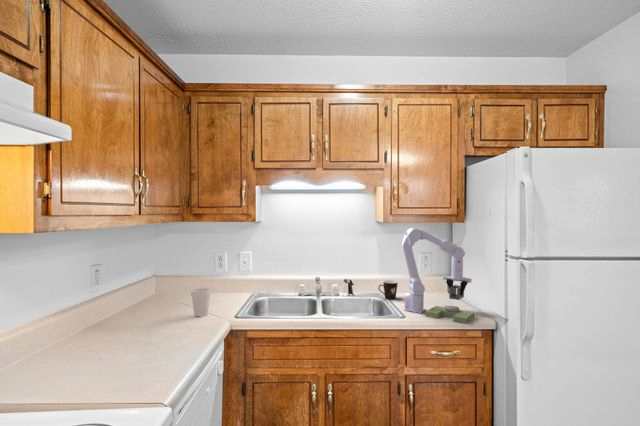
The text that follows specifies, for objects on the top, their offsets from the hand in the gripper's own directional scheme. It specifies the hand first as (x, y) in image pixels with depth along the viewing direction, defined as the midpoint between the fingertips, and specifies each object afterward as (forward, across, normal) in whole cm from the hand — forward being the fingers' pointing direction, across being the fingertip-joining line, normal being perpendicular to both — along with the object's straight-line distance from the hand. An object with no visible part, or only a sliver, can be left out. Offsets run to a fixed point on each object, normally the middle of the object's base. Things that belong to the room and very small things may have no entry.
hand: (456, 294), depth 209 cm
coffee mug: (+9, +42, -2) cm, 43 cm away
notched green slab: (+9, -1, +13) cm, 16 cm away
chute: (+2, 0, 0) cm, 2 cm away
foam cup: (+9, +99, +90) cm, 134 cm away
